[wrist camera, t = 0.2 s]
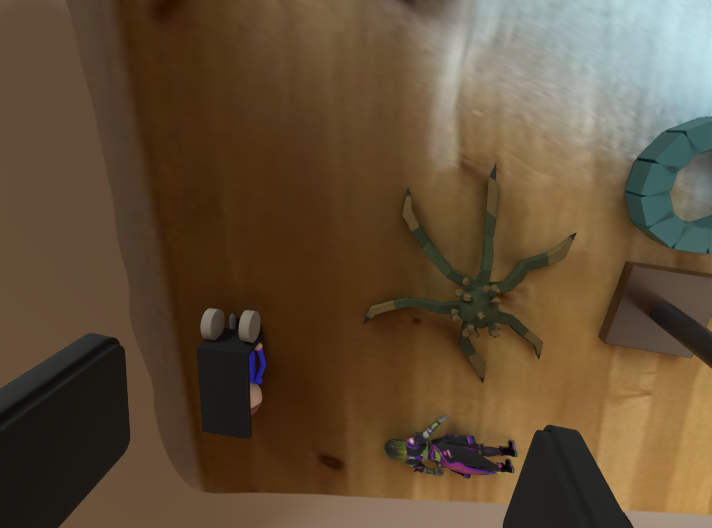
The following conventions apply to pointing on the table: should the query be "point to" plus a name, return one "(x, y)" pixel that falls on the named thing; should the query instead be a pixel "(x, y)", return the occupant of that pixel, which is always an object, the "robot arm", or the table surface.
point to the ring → (669, 187)
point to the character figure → (449, 453)
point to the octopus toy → (475, 284)
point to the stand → (661, 311)
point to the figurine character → (230, 372)
